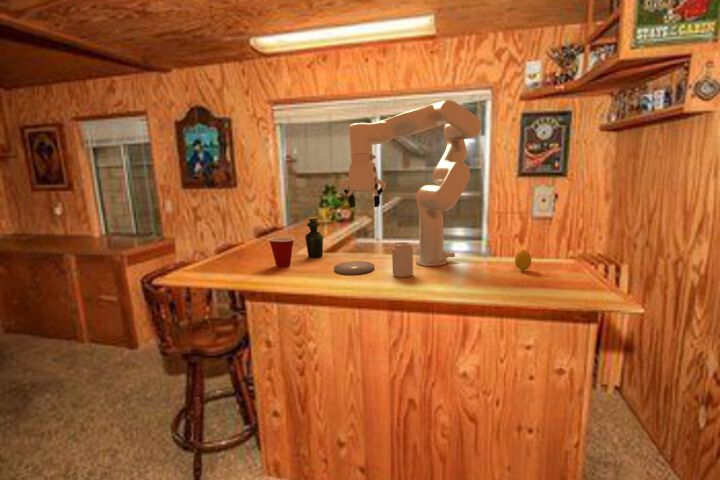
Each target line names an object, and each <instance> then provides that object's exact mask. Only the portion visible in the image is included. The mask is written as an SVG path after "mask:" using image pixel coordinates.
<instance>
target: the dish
mask: <svg viewBox="0 0 720 480" xmlns="http://www.w3.org/2000/svg"><path fill="white" fill-rule="evenodd" d="M374 270H375V264H374V263H372V262H369V261H363V260H362V261H361V260H359V261H358V260H355V261H353V260H352V261H345V262H340V263H338V264H335V265H334V266H333V271H334V272H335V273H336V274H339V275H346V276H355V275H356V276H357V275H364V274H369V273H371V272H373V271H374Z"/></svg>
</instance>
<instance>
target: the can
mask: <svg viewBox="0 0 720 480" xmlns="http://www.w3.org/2000/svg"><path fill="white" fill-rule="evenodd" d="M413 251H414V249H413V247H412V245H411V242H395V243H393V246H392V248H391V254H392V256H391V257H392V274H393V275H394V277H396V278H401V279H405V278H410V277H412V275H413V274H414V252H413Z"/></svg>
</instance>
